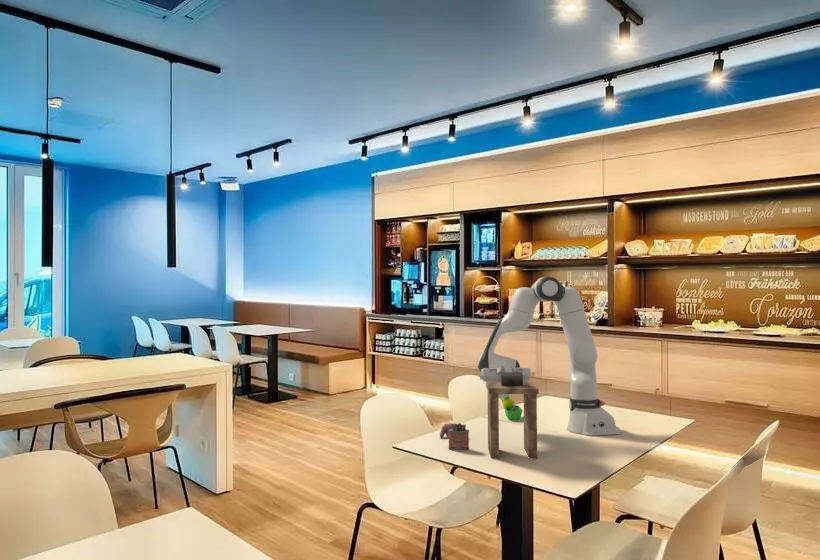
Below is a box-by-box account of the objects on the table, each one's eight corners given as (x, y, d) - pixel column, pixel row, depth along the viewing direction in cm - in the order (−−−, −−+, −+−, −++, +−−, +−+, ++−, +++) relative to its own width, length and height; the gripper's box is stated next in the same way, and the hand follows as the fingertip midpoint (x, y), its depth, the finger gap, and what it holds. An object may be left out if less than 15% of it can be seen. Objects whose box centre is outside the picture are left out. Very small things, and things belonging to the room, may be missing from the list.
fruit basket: (523, 421, 256) (522, 397, 256) (504, 421, 256) (504, 397, 256) (518, 415, 267) (518, 392, 267) (500, 415, 267) (500, 392, 267)
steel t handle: (516, 369, 222) (516, 360, 222) (522, 385, 205) (522, 375, 204) (496, 369, 223) (496, 360, 222) (501, 385, 205) (501, 375, 205)
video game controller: (463, 441, 228) (465, 425, 231) (461, 439, 224) (463, 422, 227) (441, 440, 231) (442, 423, 234) (438, 437, 227) (440, 421, 230)
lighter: (469, 448, 214) (468, 422, 214) (469, 450, 210) (468, 424, 210) (448, 447, 214) (448, 422, 215) (448, 450, 211) (448, 424, 211)
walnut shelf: (532, 448, 213) (532, 382, 213) (539, 459, 199) (538, 388, 199) (486, 447, 214) (486, 381, 214) (489, 459, 200) (489, 388, 200)
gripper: (479, 372, 233) (481, 360, 221) (527, 372, 232) (531, 359, 220) (480, 386, 230) (481, 375, 218) (528, 386, 229) (533, 374, 217)
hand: (507, 367), depth 219 cm, fingers closed on steel t handle, 2 cm apart
